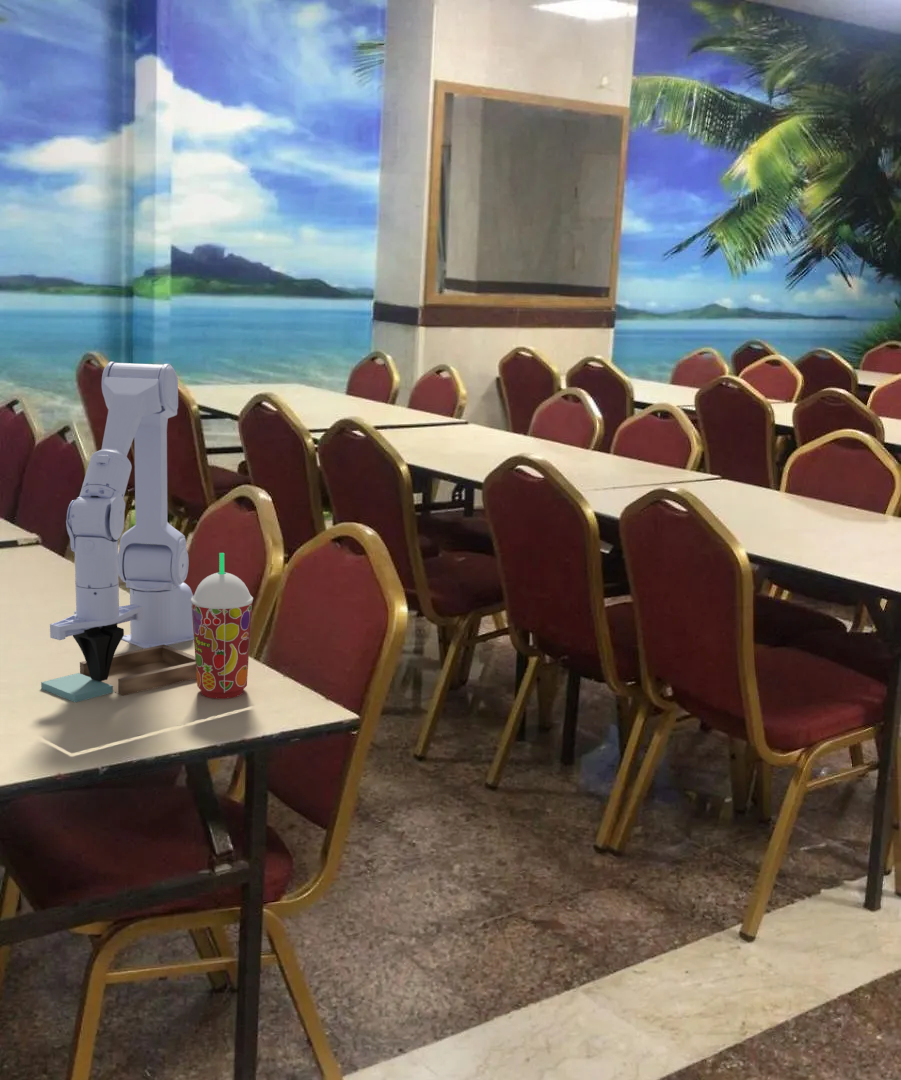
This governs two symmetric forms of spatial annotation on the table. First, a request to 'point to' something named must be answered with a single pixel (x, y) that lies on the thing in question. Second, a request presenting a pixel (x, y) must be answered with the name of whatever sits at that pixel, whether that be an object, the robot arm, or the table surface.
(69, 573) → the table surface
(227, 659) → the smoothie
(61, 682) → the cover plate
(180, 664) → the walnut box
